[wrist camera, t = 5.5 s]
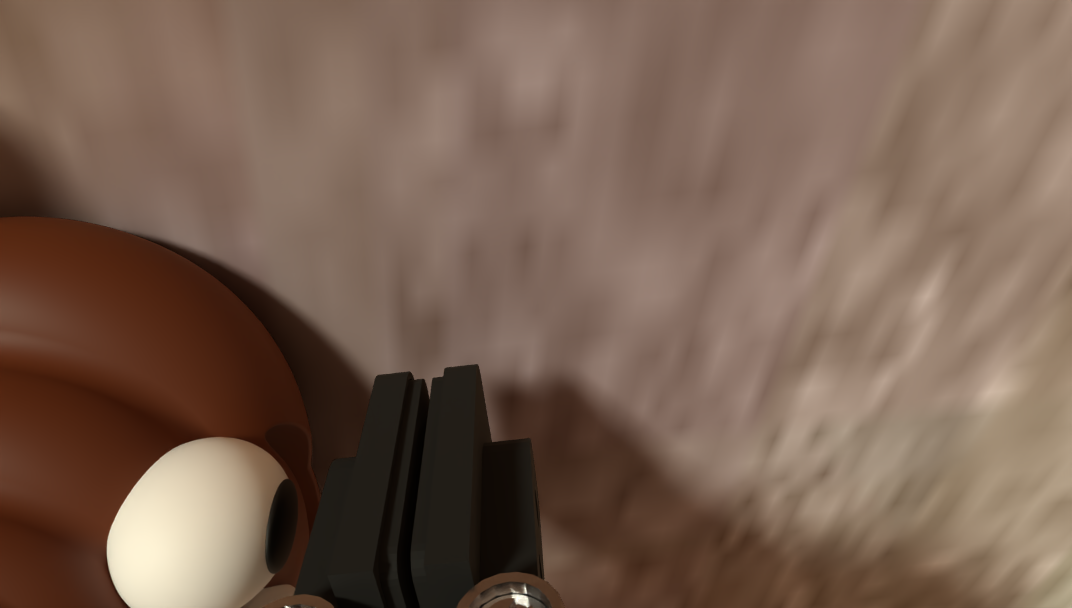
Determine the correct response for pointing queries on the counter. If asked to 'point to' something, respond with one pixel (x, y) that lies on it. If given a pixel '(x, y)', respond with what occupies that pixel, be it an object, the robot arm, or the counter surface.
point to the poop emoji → (141, 430)
